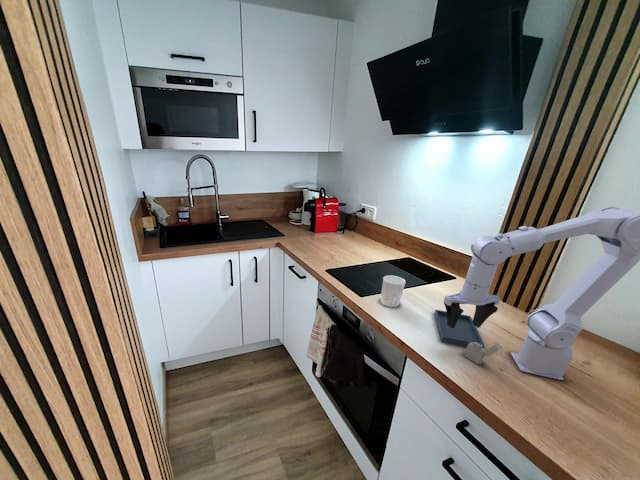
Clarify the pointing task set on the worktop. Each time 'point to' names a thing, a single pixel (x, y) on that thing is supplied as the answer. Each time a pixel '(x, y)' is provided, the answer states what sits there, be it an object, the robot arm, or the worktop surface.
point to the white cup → (392, 290)
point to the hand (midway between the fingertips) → (463, 325)
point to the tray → (457, 330)
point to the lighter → (479, 351)
